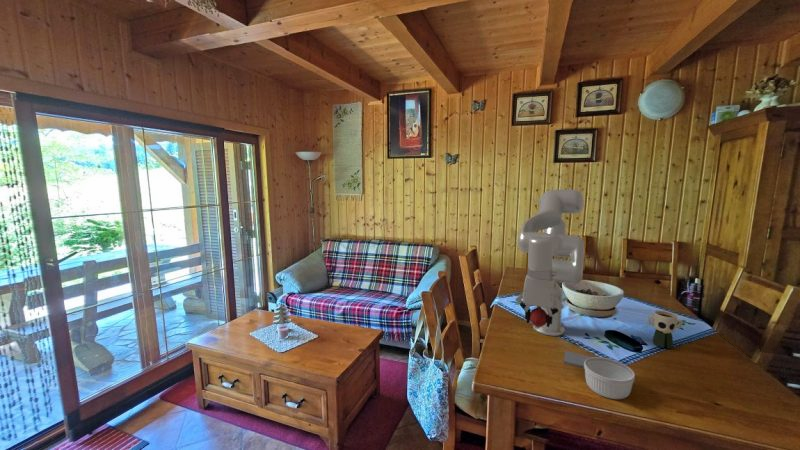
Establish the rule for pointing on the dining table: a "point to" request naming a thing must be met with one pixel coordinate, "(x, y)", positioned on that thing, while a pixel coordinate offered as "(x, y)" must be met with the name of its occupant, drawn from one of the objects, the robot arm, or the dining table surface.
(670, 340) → the character mug
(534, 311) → the onion
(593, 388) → the ramekin
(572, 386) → the dining table surface
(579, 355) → the coaster
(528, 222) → the robot arm
